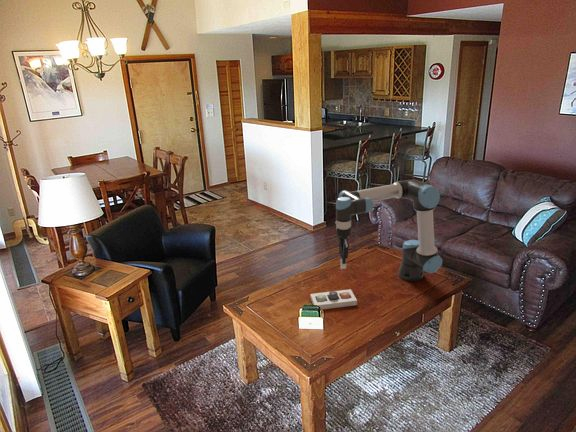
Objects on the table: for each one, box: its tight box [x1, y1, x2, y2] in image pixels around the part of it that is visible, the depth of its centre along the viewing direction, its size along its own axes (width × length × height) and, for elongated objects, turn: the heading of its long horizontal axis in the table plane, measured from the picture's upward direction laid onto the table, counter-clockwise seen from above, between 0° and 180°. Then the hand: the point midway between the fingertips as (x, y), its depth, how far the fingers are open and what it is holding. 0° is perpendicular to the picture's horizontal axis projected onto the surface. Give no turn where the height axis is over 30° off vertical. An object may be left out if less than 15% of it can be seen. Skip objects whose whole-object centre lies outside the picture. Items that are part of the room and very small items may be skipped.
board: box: [310, 288, 358, 310], centre depth 227 cm, size 24×12×3 cm, turn 99°
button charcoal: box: [328, 290, 338, 301], centre depth 227 cm, size 5×5×3 cm
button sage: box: [317, 295, 326, 302], centre depth 226 cm, size 5×5×3 cm
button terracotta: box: [341, 292, 350, 299], centre depth 228 cm, size 5×5×3 cm
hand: (343, 268), depth 213 cm, fingers closed
